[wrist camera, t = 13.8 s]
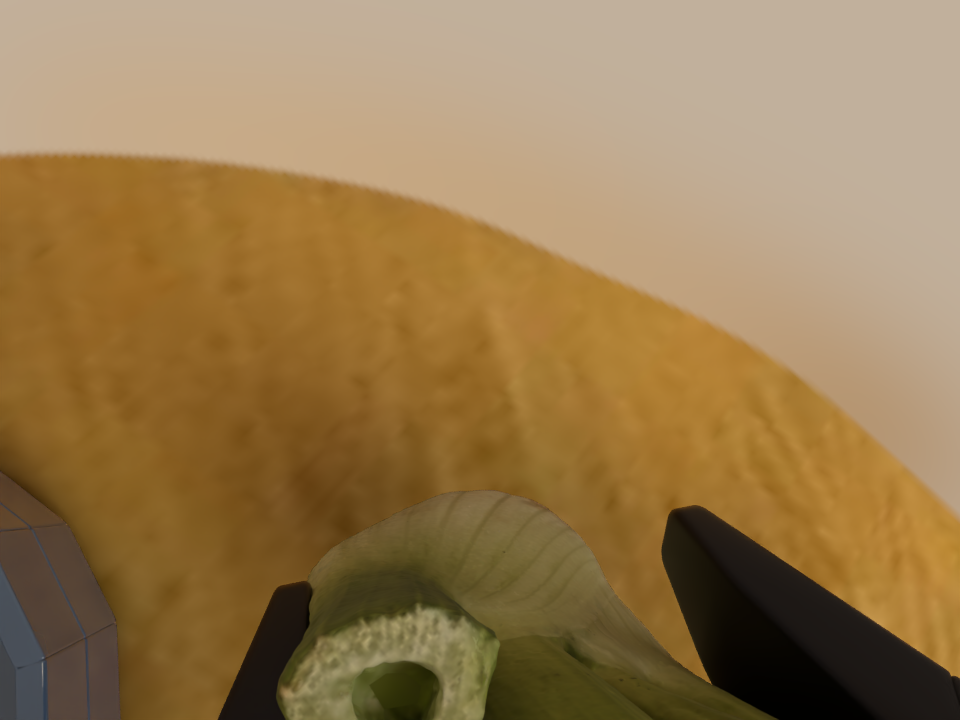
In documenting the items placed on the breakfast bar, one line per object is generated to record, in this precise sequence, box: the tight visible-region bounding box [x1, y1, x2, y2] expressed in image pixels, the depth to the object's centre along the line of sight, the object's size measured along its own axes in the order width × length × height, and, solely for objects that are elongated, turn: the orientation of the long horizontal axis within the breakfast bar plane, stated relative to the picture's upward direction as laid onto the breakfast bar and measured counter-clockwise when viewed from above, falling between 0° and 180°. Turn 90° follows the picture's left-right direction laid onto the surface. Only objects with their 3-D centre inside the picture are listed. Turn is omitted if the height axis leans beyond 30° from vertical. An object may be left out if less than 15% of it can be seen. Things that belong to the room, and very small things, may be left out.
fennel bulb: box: [276, 490, 779, 720], centre depth 10 cm, size 6×5×12 cm
